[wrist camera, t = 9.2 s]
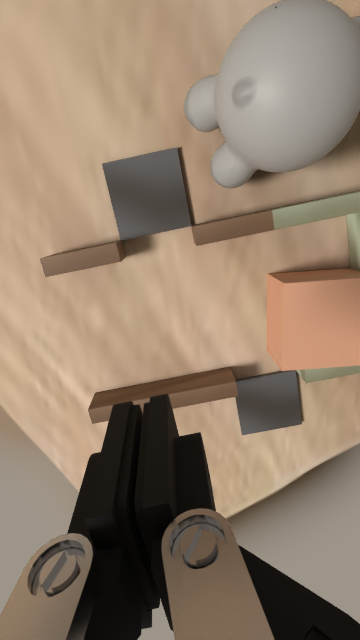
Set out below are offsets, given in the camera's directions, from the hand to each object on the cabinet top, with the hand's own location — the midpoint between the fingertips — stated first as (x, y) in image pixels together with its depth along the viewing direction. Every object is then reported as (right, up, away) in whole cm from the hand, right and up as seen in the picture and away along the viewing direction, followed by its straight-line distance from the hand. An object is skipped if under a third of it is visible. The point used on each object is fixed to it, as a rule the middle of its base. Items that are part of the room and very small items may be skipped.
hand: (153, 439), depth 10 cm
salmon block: (+10, +4, +16) cm, 19 cm away
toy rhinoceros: (+8, +17, +12) cm, 22 cm away
